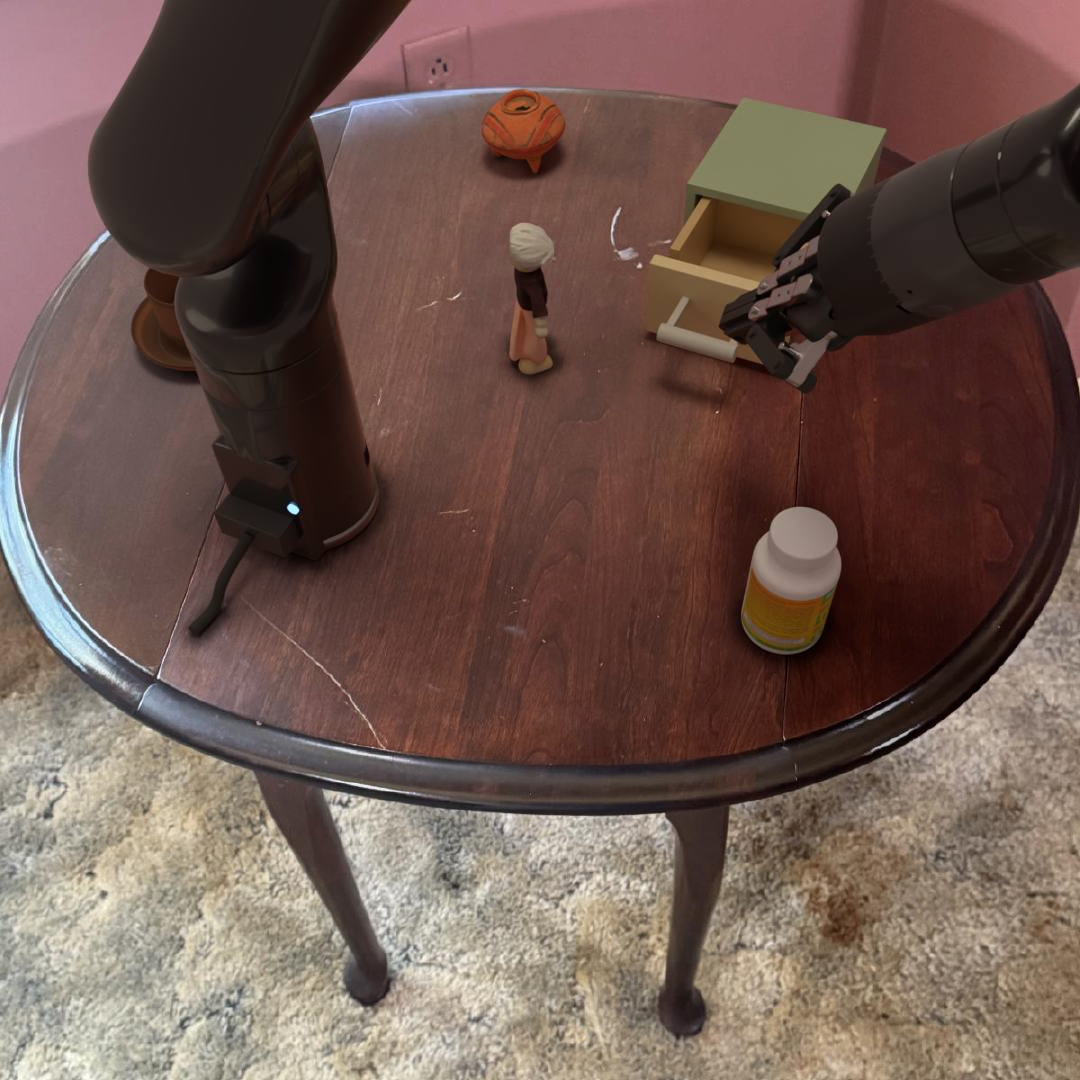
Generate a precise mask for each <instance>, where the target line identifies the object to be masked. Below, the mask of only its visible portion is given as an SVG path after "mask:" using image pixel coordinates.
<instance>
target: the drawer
mask: <svg viewBox="0 0 1080 1080" xmlns="http://www.w3.org/2000/svg"><path fill="white" fill-rule="evenodd" d="M802 222H803V221H802V220H798V219H794V218H790V217H786V216H782V215H778V214H774V213H770V212H766V211H762V210H758V209H754V208H751V207H747V206H743V205H739V204H735V203H731V202H727V201H723V200H719V199H715V198H711V197H707V196H703V197H702V199H701V200H700V202H699V203H698V205H697V206H696V208H695V210H694V211H693V213H692V214H691V216H690V217H689V219H688V221H687V222H686V224H685V225H684V224H683V227H682V228H681V230H680V232H679V233H678V235H677V236H676V238H675V240H674V241H673V243H672V245H670V248H669V254H668V256H664V255H660V254H656V253H655V254H654V255H653V257H652V258H651V260H650V262H649V264H648V265H649V266H648V281H647V282H648V283H647V301H646V318H645V331H647V332H650V333H654V334H656V341H657V342H658V343H662V344H666V345H670V346H673V347H675V348H680V349H682V350H686V351H689V352H692V353H696V354H699V355H704V356H707V357H709V358H713V359H717V360H720V361H723V362H727V363H730V364H733V363H734V362H735V361H736V359H737V358H740V359H743V360H746V361H750V362H753V363H757V364H759V365H763V366H764V364H763V363H762V362H761V360H760V359H759V358H758V357H757V355H756V354H755V353H754V351H753V350H752V349H751V347H750V346H749V345H748V344H746V345H742V344H740V343H738V342H736V341H735V340H733V339H731V338H730V337H728V336H726V335H725V334H724V331H723V330H721V329H720V328H719V323H720V320H721V317H722V314H723V311H724V308H725V306H726V305H727V304H729V303H731V302H733V301H735V300H736V299H737V298H738V297H739V296H740V295H743V294H745V293H747V292H749V291H751V290H754V289H756V288H758V285H759V284H760V282H761V281H762V280H763V279H764V278H765V277H767V276H769V275H770V274H772V273H774V271H775V269H776V267H775V266H773V265H772V259H773V257H774V255H775V254H776V252H777V251H778V250H779V249H780V248H781V246H782V245H783V244H784V243H785V242H786V241H787V240H788V238H789V237H790V236H791V235H792V234H793V233H794V231H795V230H796V229H797V228H798V227H799V226H800V224H801V223H802ZM808 245H809V242H808V243H805V244H804V245H803V246H802V248H801V249H803V248H805V247H807V246H808ZM801 249H800V250H801ZM790 339H791V336H787V337H785V341H786V342H788V343H789V344H790Z"/></svg>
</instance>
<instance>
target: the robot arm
mask: <svg viewBox="0 0 1080 1080" xmlns="http://www.w3.org/2000/svg"><path fill="white" fill-rule="evenodd" d="M411 2H412V0H163V2H162V6H161V8H160V11H159V14H158V16H157V19H156V21H155V23H154V26H153V28H152V30H151V32H150V34H149V37H148V39H147V41H146V43H145V45H144V46H143V48H142V51H141V52H140V54H139V55H138V58H137V60H135V63H134V65H133V66H132V68H131V70H130V72H129V74H128V75H127V77H126V79H125V80H124V83H123V84H122V86H121V88H120V89H119V91H118V93H117V95H116V96H115V98H114V99H113V100H112V103H111V105H110V106H109V108H108V109H107V111H106V113H105V114H104V116H103V117H102V119H101V120H100V122H99V123H98V125H97V127H96V129H95V131H94V133H93V136H92V138H91V141H90V144H89V148H88V154H87V174H88V175H87V176H88V185H89V189H90V194H91V199H92V201H93V203H94V206H95V208H96V211H97V213H98V216H99V218H100V221H101V222H102V223H103V225H104V226H105V228H106V230H107V231H108V233H109V235H110V236H111V237H112V238H113V240H114V241H115V242H116V244H118V245H119V247H120V248H121V249H122V250H123V251H124V252H125V253H127V255H129V256H130V257H132V258H133V259H134V260H136V261H137V262H139V263H140V264H141V265H143V266H145V267H147V268H148V269H149V268H151V269H154V270H156V271H159V272H161V273H164V274H169V275H173V276H178V277H180V278H179V281H178V284H177V288H176V292H175V301H174V303H175V314H176V318H177V321H178V324H179V327H180V330H181V333H182V335H183V338H184V341H185V343H186V346H187V348H188V351H189V354H190V356H191V359H192V361H193V364H194V367H195V369H196V371H195V373H196V374H197V377H198V381H199V383H200V385H201V388H202V391H203V393H204V396H205V399H206V402H207V404H208V406H209V410H210V413H211V415H212V418H213V420H214V423H215V426H216V428H217V430H218V433H219V435H217V437H216V438H215V439H214V440H213V442H212V443H211V449H212V452H213V455H214V458H215V460H216V462H217V464H218V468H219V470H220V472H221V475H222V477H223V480H224V483H225V485H226V488H227V490H228V494H227V496H226V497H225V498H224V499H223V500H222V501H221V503H220V504H219V505H218V506H217V508H216V509H215V510H214V511H213V515H214V518H215V519H216V522H217V525H218V527H219V529H220V532H221V533H222V534H224V535H226V536H229V537H231V538H234V539H237V540H239V541H238V542H237V544H236V545H235V547H234V548H233V550H232V552H231V553H230V555H229V556H228V558H227V560H226V561H225V563H224V565H223V567H222V569H221V570H220V573H219V574H218V576H217V579H216V580H215V584H214V588H213V592H212V596H211V599H210V601H209V603H208V605H207V606H206V608H205V610H204V611H203V612H202V613H201V614H200V615H199V616H198V617H197V618H196V619H195V620H194V621H193V622H192V623H191V624H190V625H189V626H188V627H187V629H188V631H190V633H192V634H193V635H195V636H198V635H199V633H201V632H202V631H203V630H204V629H205V628H206V627H207V626H208V625H209V624H210V623H211V622H212V621H213V620H214V619H215V618H216V616H217V615H218V614H219V612H220V610H221V607H222V605H223V603H224V600H225V596H226V592H227V588H228V586H229V584H230V581H231V579H232V577H233V575H234V574H235V572H236V569H237V567H238V566H239V564H240V563H241V561H242V559H243V558H244V557H245V555H246V553H247V552H248V550H249V548H250V547H251V545H252V546H254V547H257V548H259V549H262V550H264V551H267V552H270V553H272V554H275V555H277V556H280V557H281V558H285V559H286V558H287V557H288V555H289V554H290V553H293V554H296V555H298V556H302V557H304V558H307V559H308V560H311V561H318V560H319V559H320V557H322V556H323V554H324V553H325V552H326V551H327V550H330V549H333V548H336V547H338V546H341V545H343V544H345V543H347V542H349V541H350V540H352V539H354V538H355V537H356V536H358V535H359V534H360V533H361V532H362V531H364V529H365V528H367V526H368V525H369V523H371V521H372V519H373V518H374V516H375V514H376V512H377V509H378V507H379V503H380V488H379V483H378V479H377V476H376V475H377V474H376V473H375V470H374V468H373V463H372V462H373V460H372V458H371V457H372V455H371V450H370V449H371V448H369V447H370V443H368V442H369V439H368V438H367V437H368V434H367V433H365V432H367V431H366V429H364V426H363V421H362V416H361V412H360V408H359V404H358V399H357V395H356V390H355V386H354V382H353V377H352V373H351V369H350V366H349V360H348V356H347V352H346V347H345V342H344V338H343V337H344V336H343V334H342V329H341V324H340V321H339V316H338V311H337V308H336V307H337V306H336V303H335V302H336V301H335V298H334V288H335V283H336V279H337V275H338V266H339V265H338V264H339V263H338V262H339V261H338V260H339V256H338V245H337V239H336V232H335V228H334V227H335V226H334V220H333V219H334V218H333V212H332V206H331V200H330V194H329V187H328V181H327V176H326V170H325V165H324V160H323V155H322V149H321V147H320V142H319V139H318V136H317V132H316V129H315V127H314V123H313V121H312V118H311V116H312V115H313V114H314V113H315V111H316V110H317V109H318V108H319V107H320V106H321V105H322V104H323V102H325V100H326V99H327V98H328V97H329V96H330V95H331V94H332V93H333V92H334V91H335V89H336V88H337V87H338V86H339V85H340V84H341V83H342V82H343V81H344V80H345V78H346V77H347V76H348V75H349V74H350V73H351V72H352V71H353V70H354V69H355V68H356V67H357V66H358V64H360V62H362V60H363V59H364V58H365V57H366V56H367V55H368V54H369V52H371V50H372V49H373V48H374V47H375V46H376V44H377V43H378V42H379V41H380V40H381V38H382V37H383V36H384V35H385V34H386V32H388V30H389V29H390V28H391V27H392V26H393V24H394V23H395V22H396V20H397V19H398V18H399V17H400V15H402V13H403V12H404V11H405V10H406V8H408V6H409V4H410V3H411ZM808 242H809V245H808V246H807V247H805V248H803V249H801V248H802V246H803V245H804V244H805V243H808ZM800 249H801V250H800ZM772 265H773V266H775V267H776V269H775V271H774V273H772V274H770V275H769V276H767V277H765V278H764V279H763V280H762V281H761V282H760V284H759V285H758V288H756V289H754V290H751V291H749V292H747V293H745V294H743V295H740V296H739V297H738V298H737V299H736V300H735V301H733V302H731V303H729V304H727V305H726V306H725V308H724V311H723V314H722V317H721V320H720V323H719V328H720V329H721V330H723V331H724V334H725V335H726V336H728V337H730V338H731V339H733V340H735V341H736V342H738V343H740V344H742V345H746V344H748V345H749V346H750V347H751V349H752V350H753V351H754V353H755V354H756V355H757V357H758V358H759V359H760V360H761V362H762V363H763V364H764V365H763V364H762V365H763V366H764V368H765V369H767V371H768V372H769V373H770V374H771V375H773V376H774V377H775V378H777V379H779V380H781V381H782V382H784V383H786V384H787V385H789V386H791V387H792V388H794V389H796V390H798V391H800V392H801V393H803V394H809V393H811V391H813V390H814V389H815V387H816V385H817V383H818V379H819V378H818V374H817V373H815V371H814V370H813V369H814V368H815V366H817V363H818V362H819V360H820V359H821V358H822V356H823V355H824V354H825V353H826V352H836V351H839V350H842V349H843V348H844V347H845V346H846V345H847V344H848V343H850V342H851V341H853V339H855V338H857V337H863V336H867V337H868V336H869V337H870V336H890V335H895V334H898V333H901V332H904V331H907V330H910V329H913V328H916V327H920V326H922V325H923V326H924V325H925V324H929V323H932V322H934V321H938V320H941V319H944V318H947V317H950V316H953V315H956V314H959V313H962V312H966V311H968V310H971V309H974V308H977V307H980V306H984V305H986V304H989V303H992V302H994V301H996V300H998V299H1001V298H1002V297H1005V296H1006V295H1009V294H1011V293H1013V292H1014V291H1017V290H1018V289H1020V288H1022V287H1024V286H1027V285H1029V284H1032V283H1035V282H1038V281H1042V280H1044V279H1047V278H1050V277H1053V276H1056V275H1059V274H1062V273H1065V272H1069V271H1071V270H1074V269H1077V268H1080V82H1079V83H1077V85H1075V86H1074V87H1073V88H1072V89H1070V90H1069V91H1067V92H1066V93H1064V95H1061V96H1060V97H1059V98H1057V99H1055V100H1053V101H1052V102H1050V103H1048V104H1046V105H1043V106H1041V107H1039V108H1036V109H1034V110H1031V111H1029V112H1027V113H1025V114H1023V115H1021V116H1019V117H1017V118H1014V119H1013V120H1011V121H1009V122H1007V123H1004V124H1003V125H1001V126H1000V127H997V128H995V129H993V130H992V131H991V130H990V131H989V132H987V133H985V134H984V135H982V136H979V137H977V138H976V139H972V140H971V141H968V142H964V143H961V144H959V145H955V146H952V147H949V148H946V149H944V150H940V151H939V152H937V153H935V154H932V155H930V156H929V157H927V158H925V159H922V160H920V161H918V162H917V163H914V164H913V165H911V166H909V167H906V168H904V169H903V170H901V171H899V172H897V173H894V174H893V175H891V176H889V177H887V178H885V179H883V180H882V181H879V182H878V183H876V184H874V186H872V187H870V188H868V189H866V190H864V191H862V192H860V193H858V194H854V193H853V192H852V191H850V190H849V189H847V188H846V187H844V186H843V185H841V184H840V183H838V184H836V185H835V186H834V187H833V188H832V189H831V190H830V191H829V192H828V193H827V194H826V196H825V197H824V198H823V199H822V200H821V201H820V203H819V204H818V205H817V206H816V207H815V208H814V209H813V211H812V212H811V213H810V214H809V215H808V216H807V218H806V219H805V220H804V221H803V222H802V223H801V224H800V226H799V227H798V228H797V229H796V230H795V231H794V233H793V234H792V235H791V236H790V237H789V238H788V240H787V241H786V242H785V243H784V244H783V245H782V246H781V248H780V249H779V250H778V251H777V252H776V254H775V255H774V257H773V259H772ZM797 334H799V335H800V334H801V335H802V336H803V337H804V338H805V340H803V341H802V342H799V343H798V342H797V341H796V342H792V343H790V342H789V343H788V342H786V341H785V337H787V336H790V337H791V336H794V335H797Z"/></svg>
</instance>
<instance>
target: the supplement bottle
mask: <svg viewBox="0 0 1080 1080" xmlns="http://www.w3.org/2000/svg"><path fill="white" fill-rule="evenodd" d="M838 540H839V534H838V530H837V527H836V525H835V523H834V522H833V520H832V519H831V518H830V517H829V516H827V515H826V514H825V513H824V512H822V511H819V510H817V509H816V508H812V507H808V506H806V507H805V506H794V507H789V508H786V509H783V510H782V511H781V512H779V513H777V515H775V516H774V518H773V519H772V521H771V523H770V526H769V530H768V531H767V532H766V533H764V534H762V537H760V538H759V539H758V541H757V543H756V545H755V546H754V549H753V553H752V557H751V562H750V567H749V572H748V576H747V581H746V586H745V590H744V591H745V592H744V596H743V602H742V606H741V612H740V618H741V619H740V620H741V624H742V628H743V630H744V632H745V634H746V635H747V636H748V638H749V639H750V640H751V641H752V642H753V643H754V644H755V645H757V646H758V647H760V648H761V649H762V650H765V651H767V652H770V653H773V654H778V655H795V654H799V653H803V652H805V651H807V650H808V649H810V648H811V647H813V646H814V645H815V644H817V642H818V640H819V639H820V637H821V635H822V634H823V631H824V629H825V624H826V622H827V617H828V615H829V612H830V609H831V605H832V602H833V599H834V596H835V593H836V589H837V585H838V583H839V580H840V577H841V572H842V558H841V555H840V554H841V553H840V552H839V549H838V547H837V545H838Z"/></svg>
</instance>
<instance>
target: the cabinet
mask: <svg viewBox="0 0 1080 1080" xmlns="http://www.w3.org/2000/svg"><path fill="white" fill-rule="evenodd" d="M887 131H888V129H887V128H884V127H880V126H875V125H871V124H867V123H862V122H857V121H853V120H848V119H845V118H840V117H835V116H831V115H826V114H821V113H816V112H812V111H807V110H802V109H797V108H794V107H790V106H785V105H780V104H775V103H771V102H766V101H762V100H758V99H753V98H749V97H742V99H741V100H740V101H739V103H738V105H737V106H736V108H735V110H734V111H733V113H732V114H731V116H730V117H729V119H728V120H727V121H726V123H725V124H724V126H723V128H722V129H721V131H720V133H719V134H718V135H717V136H716V138H715V140H714V142H713V143H712V144H711V146H710V148H709V149H708V151H707V152H706V153H705V155H704V157H703V158H702V160H701V161H700V163H699V164H698V165H697V167H696V168H695V171H694V172H693V174H691V177H690V178H689V179H688V181H687V183H686V191H685V192H686V193H685V204H684V205H685V207H684V217H683V226H684V225H685V224H686V222H687V221H688V219H689V217H690V216H691V214H692V213H693V211H694V210H695V208H696V206H697V205H698V203H699V202H700V200H701V199H702V197H703V196H707V197H711V198H715V199H719V200H723V201H727V202H731V203H735V204H739V205H743V206H747V207H751V208H754V209H758V210H762V211H766V212H770V213H774V214H778V215H782V216H786V217H790V218H794V219H798V220H802V221H804V220H805V219H806V218H807V216H808V215H809V214H810V213H811V212H812V211H813V209H814V208H815V207H816V206H817V205H818V204H819V203H820V201H821V200H822V199H823V198H824V197H825V196H826V194H827V193H828V192H829V191H830V190H831V189H832V188H833V187H834V186H835V185H836V184H838V183H840V184H841V185H843V186H844V187H846V188H847V189H849V190H850V191H852V192H853V193H854V194H858V193H860V192H862V191H864V190H866V189H868V188H870V187H872V186H874V185H875V182H876V177H877V173H878V168H879V165H880V161H881V156H882V152H883V147H884V144H885V140H886V135H887Z"/></svg>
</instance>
